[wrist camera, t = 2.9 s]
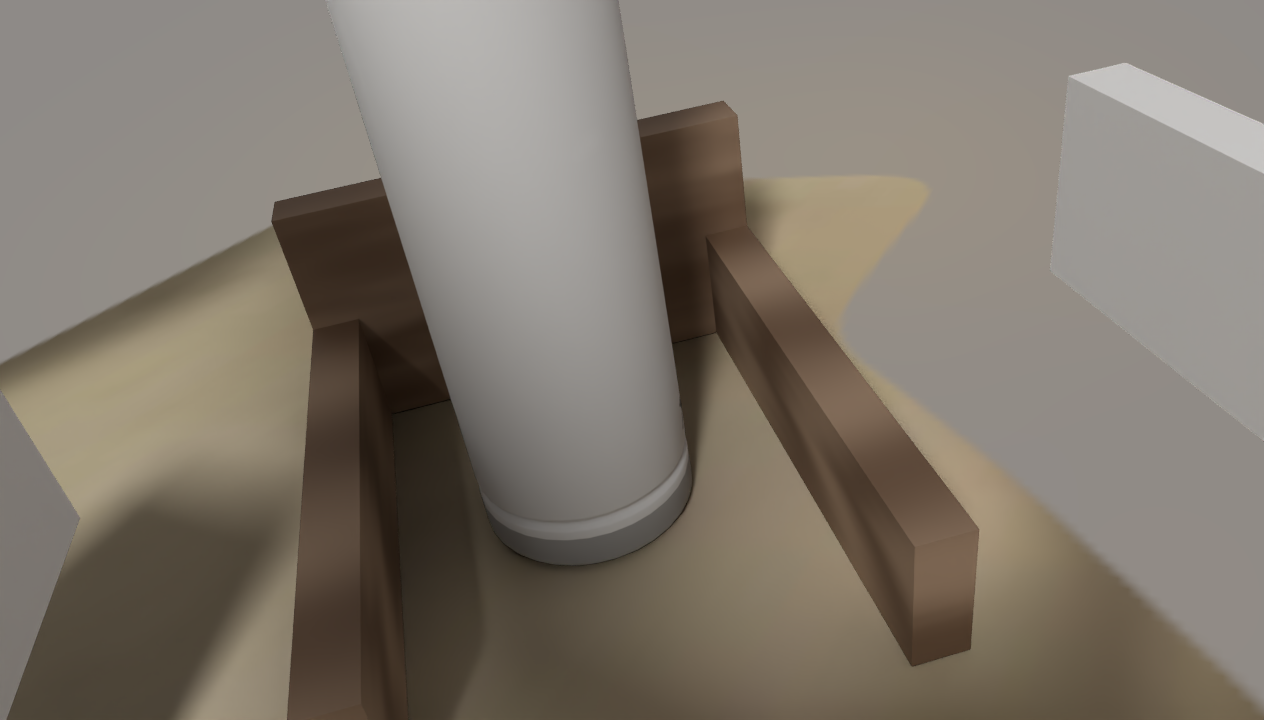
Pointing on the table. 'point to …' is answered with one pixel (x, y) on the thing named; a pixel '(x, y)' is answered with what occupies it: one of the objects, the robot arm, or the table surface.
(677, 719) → the table surface
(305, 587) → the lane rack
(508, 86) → the travel mug
